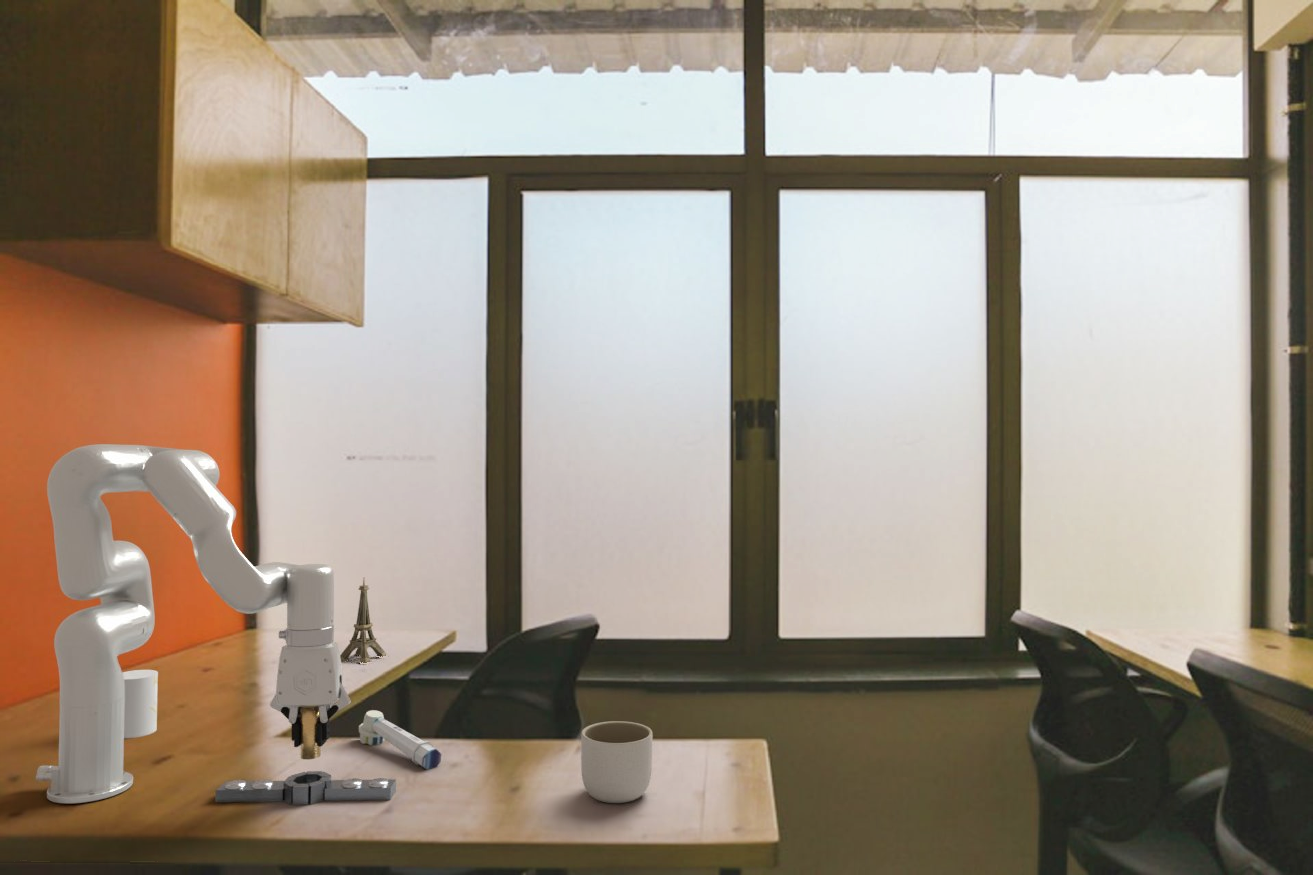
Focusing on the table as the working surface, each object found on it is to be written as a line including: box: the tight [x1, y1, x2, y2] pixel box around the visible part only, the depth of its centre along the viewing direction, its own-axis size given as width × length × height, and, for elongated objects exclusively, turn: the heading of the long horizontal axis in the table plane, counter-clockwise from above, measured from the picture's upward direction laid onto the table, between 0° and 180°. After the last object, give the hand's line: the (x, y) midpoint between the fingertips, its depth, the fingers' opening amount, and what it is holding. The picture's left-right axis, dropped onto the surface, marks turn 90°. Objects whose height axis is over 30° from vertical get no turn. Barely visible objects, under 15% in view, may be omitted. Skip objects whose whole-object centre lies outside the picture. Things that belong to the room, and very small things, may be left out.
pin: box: [300, 706, 322, 760], centre depth 151 cm, size 3×3×9 cm
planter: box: [580, 720, 654, 804], centre depth 154 cm, size 12×12×11 cm
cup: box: [122, 669, 159, 739], centre depth 184 cm, size 8×8×12 cm
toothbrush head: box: [358, 709, 442, 771], centre depth 174 cm, size 5×7×25 cm
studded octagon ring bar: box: [214, 770, 397, 806], centre depth 151 cm, size 29×7×3 cm, turn 94°
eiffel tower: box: [340, 578, 387, 663], centre depth 250 cm, size 11×11×25 cm
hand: (310, 743), depth 151 cm, fingers closed on pin, 3 cm apart
